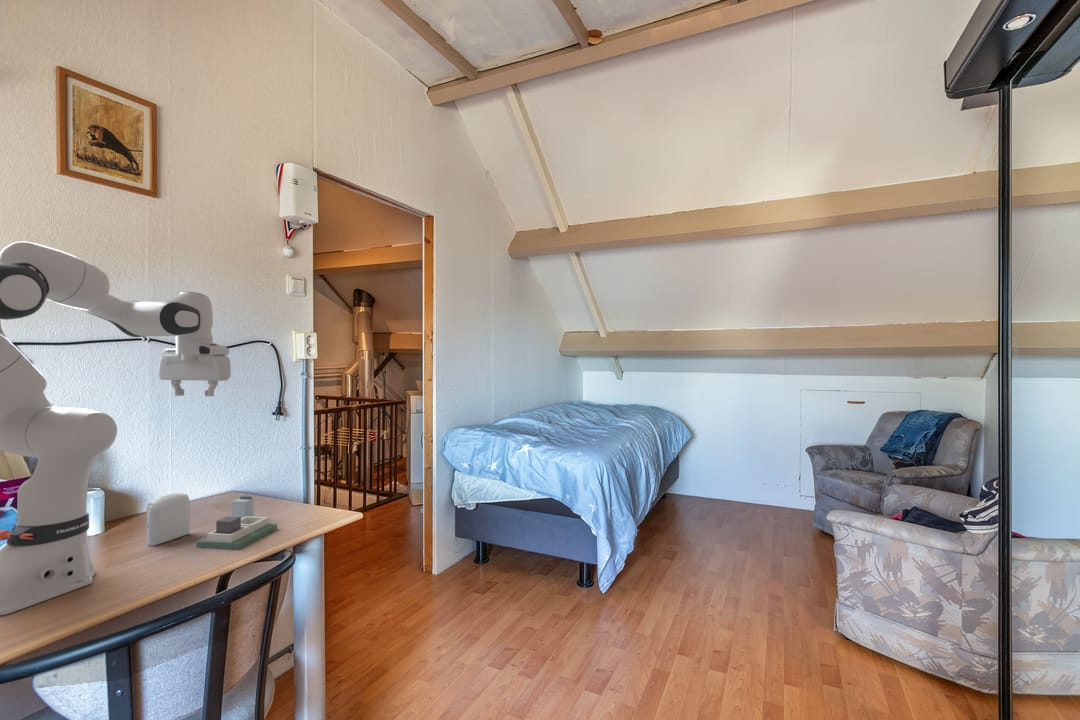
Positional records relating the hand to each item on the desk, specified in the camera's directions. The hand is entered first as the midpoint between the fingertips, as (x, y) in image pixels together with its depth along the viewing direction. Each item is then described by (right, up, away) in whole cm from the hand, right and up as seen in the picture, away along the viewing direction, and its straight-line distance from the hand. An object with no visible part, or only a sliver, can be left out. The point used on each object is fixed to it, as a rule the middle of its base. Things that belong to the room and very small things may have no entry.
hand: (194, 396), depth 143 cm
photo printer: (-2, -40, -7) cm, 40 cm away
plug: (+10, -40, +7) cm, 41 cm away
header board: (+16, -40, -5) cm, 43 cm away
